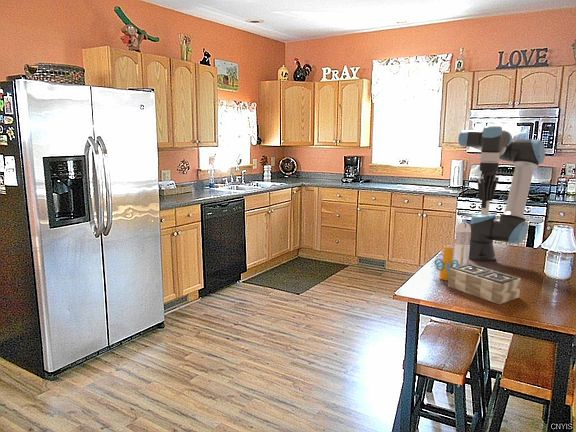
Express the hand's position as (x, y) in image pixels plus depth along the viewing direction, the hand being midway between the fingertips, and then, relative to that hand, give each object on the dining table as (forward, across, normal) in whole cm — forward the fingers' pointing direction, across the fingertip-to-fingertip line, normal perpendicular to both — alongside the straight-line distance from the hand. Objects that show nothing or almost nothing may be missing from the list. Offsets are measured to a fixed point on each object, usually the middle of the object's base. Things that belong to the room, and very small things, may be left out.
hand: (484, 214), depth 203 cm
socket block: (+29, +15, +12) cm, 35 cm away
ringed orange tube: (+30, +14, -7) cm, 33 cm away
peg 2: (+29, +15, +18) cm, 37 cm away
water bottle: (+30, -3, -12) cm, 32 cm away
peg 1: (+29, +15, +6) cm, 33 cm away
